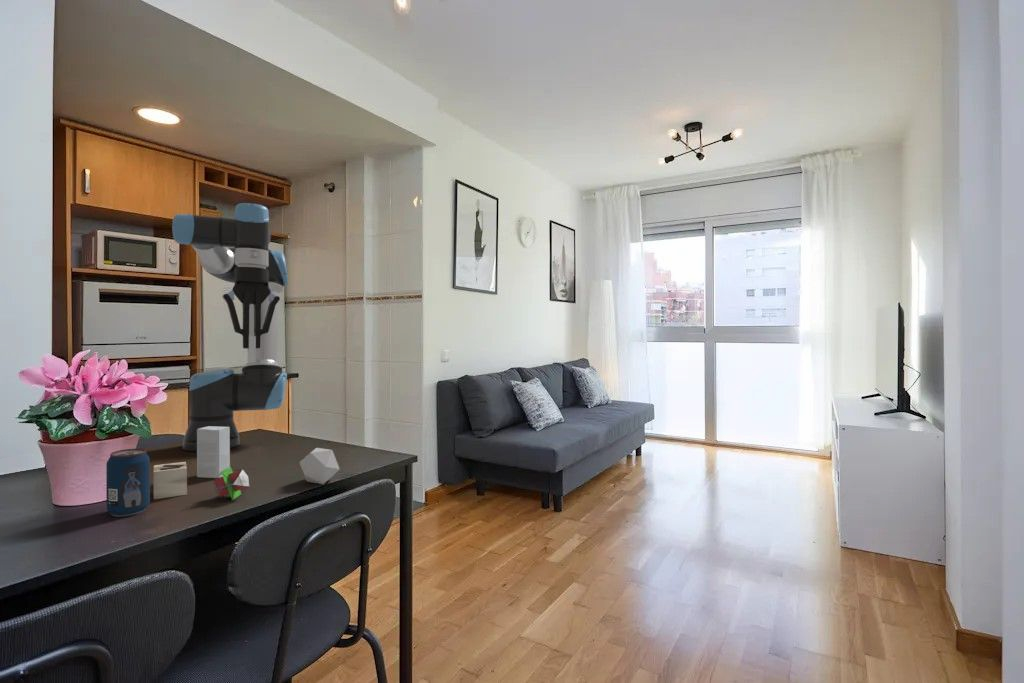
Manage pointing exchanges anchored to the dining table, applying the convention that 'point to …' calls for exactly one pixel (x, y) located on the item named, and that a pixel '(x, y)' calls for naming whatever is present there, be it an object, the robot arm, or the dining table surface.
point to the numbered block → (170, 480)
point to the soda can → (128, 482)
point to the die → (319, 465)
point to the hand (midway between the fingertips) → (251, 361)
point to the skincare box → (212, 451)
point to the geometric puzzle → (231, 482)
